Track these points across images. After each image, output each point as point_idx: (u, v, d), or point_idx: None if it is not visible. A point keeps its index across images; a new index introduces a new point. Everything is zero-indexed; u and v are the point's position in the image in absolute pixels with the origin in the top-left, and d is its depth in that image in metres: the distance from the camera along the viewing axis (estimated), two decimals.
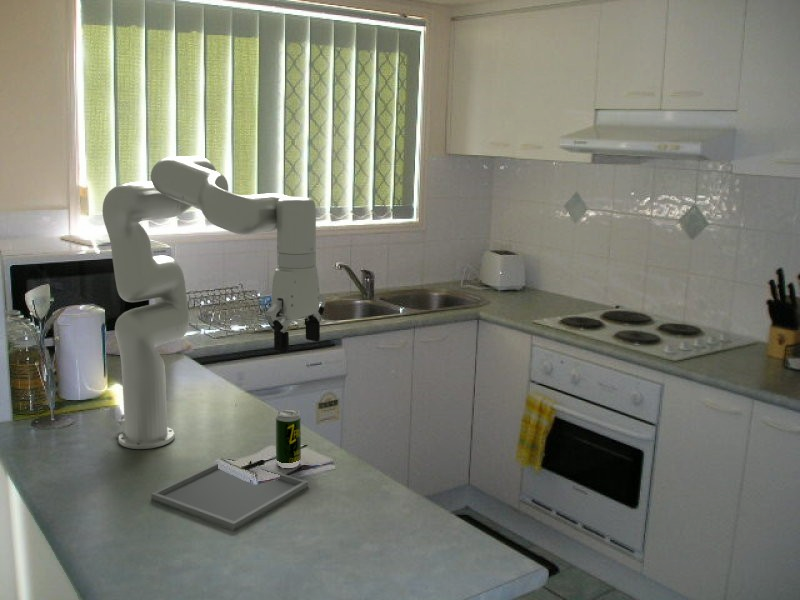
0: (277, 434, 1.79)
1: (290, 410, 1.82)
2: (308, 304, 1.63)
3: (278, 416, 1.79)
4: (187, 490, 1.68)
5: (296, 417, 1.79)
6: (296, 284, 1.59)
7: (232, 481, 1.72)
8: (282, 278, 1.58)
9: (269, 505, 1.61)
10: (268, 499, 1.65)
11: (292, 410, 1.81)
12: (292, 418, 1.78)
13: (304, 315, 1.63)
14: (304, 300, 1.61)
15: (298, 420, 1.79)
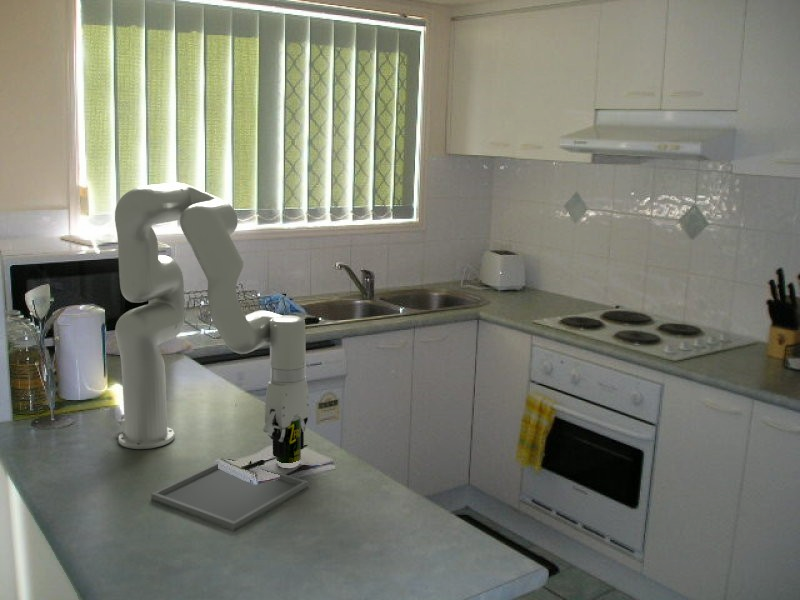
0: None
1: None
2: (298, 412, 1.79)
3: None
4: (187, 490, 1.68)
5: (296, 417, 1.79)
6: (287, 396, 1.75)
7: (232, 481, 1.72)
8: (274, 391, 1.75)
9: (269, 505, 1.61)
10: (268, 499, 1.65)
11: None
12: None
13: None
14: (294, 409, 1.78)
15: (298, 420, 1.79)
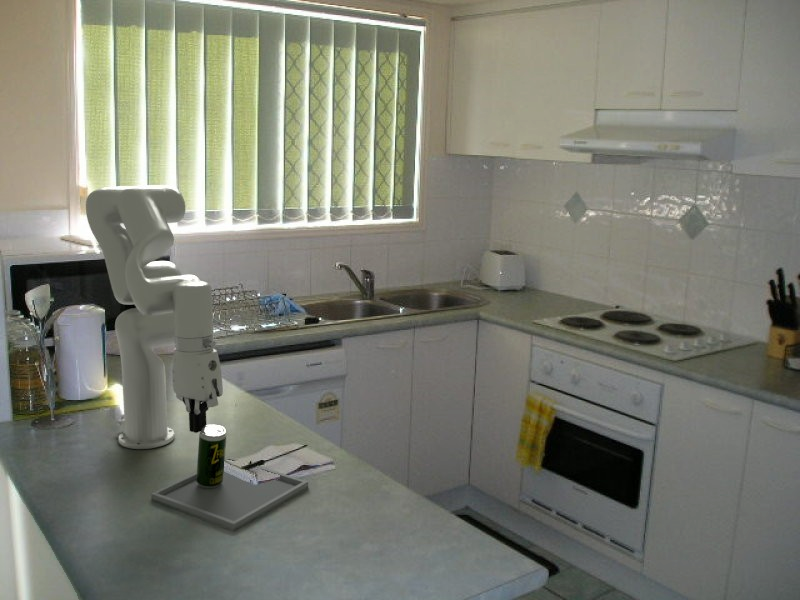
0: (199, 452, 1.67)
1: (216, 427, 1.69)
2: (189, 387, 1.65)
3: (202, 434, 1.66)
4: (187, 490, 1.68)
5: (221, 436, 1.66)
6: (176, 362, 1.66)
7: (232, 481, 1.72)
8: None
9: (269, 505, 1.61)
10: (268, 499, 1.65)
11: (218, 427, 1.69)
12: (216, 438, 1.65)
13: (188, 396, 1.66)
14: (184, 381, 1.65)
15: (223, 440, 1.66)
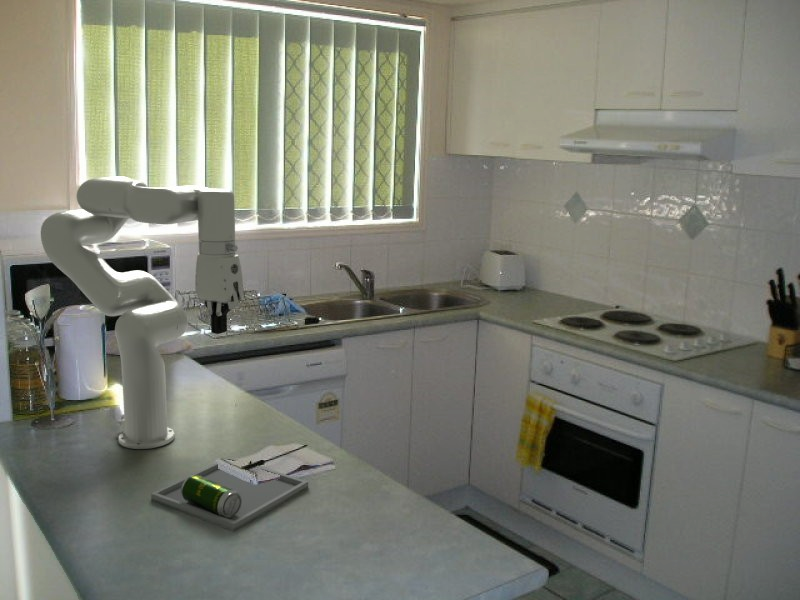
0: None
1: (225, 507, 1.55)
2: (212, 289, 1.74)
3: None
4: None
5: (235, 492, 1.57)
6: (199, 266, 1.75)
7: (232, 481, 1.72)
8: None
9: (269, 505, 1.61)
10: (268, 499, 1.65)
11: (225, 504, 1.55)
12: (238, 494, 1.58)
13: (210, 298, 1.75)
14: (207, 284, 1.74)
15: (231, 489, 1.57)
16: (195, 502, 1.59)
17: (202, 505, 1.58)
